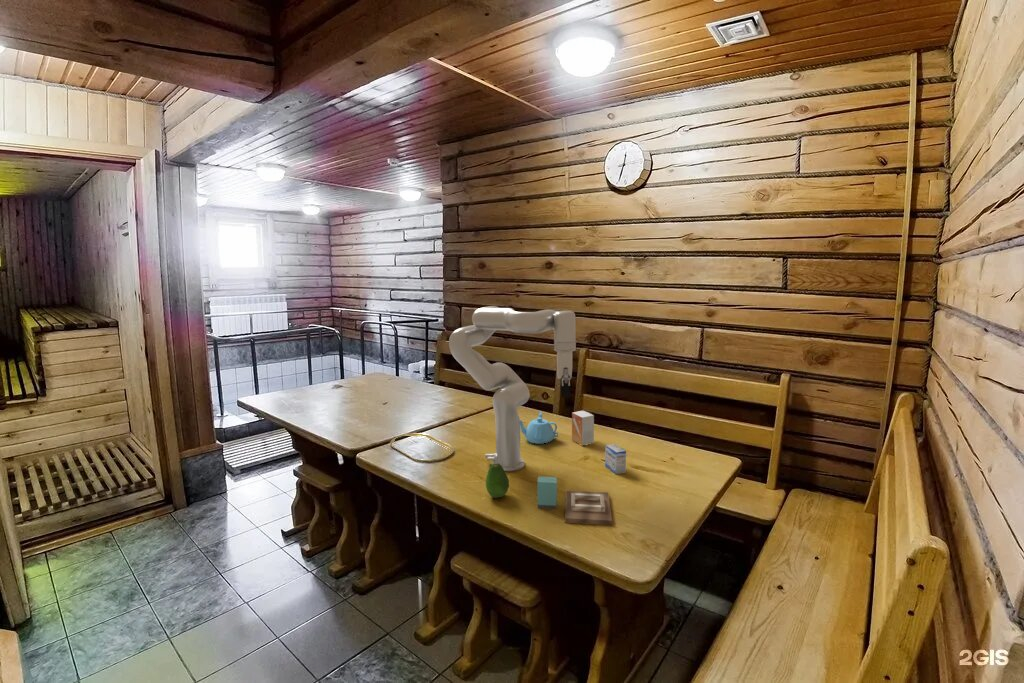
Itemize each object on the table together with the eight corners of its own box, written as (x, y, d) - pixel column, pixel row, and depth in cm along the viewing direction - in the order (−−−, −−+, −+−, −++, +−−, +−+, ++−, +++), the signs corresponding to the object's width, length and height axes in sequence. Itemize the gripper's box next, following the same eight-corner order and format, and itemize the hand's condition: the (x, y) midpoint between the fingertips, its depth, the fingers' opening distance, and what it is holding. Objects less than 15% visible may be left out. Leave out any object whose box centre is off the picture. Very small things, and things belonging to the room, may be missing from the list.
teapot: (563, 440, 214) (563, 418, 212) (537, 449, 204) (537, 426, 203) (540, 432, 225) (540, 411, 223) (515, 439, 216) (515, 417, 214)
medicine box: (604, 466, 186) (604, 445, 185) (614, 464, 188) (614, 443, 187) (615, 474, 179) (616, 452, 178) (626, 472, 181) (626, 450, 179)
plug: (537, 508, 156) (537, 482, 154) (538, 502, 160) (538, 476, 158) (556, 509, 155) (556, 482, 154) (556, 502, 159) (556, 477, 158)
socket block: (565, 522, 147) (565, 513, 146) (566, 494, 164) (566, 486, 164) (611, 525, 145) (612, 515, 144) (608, 496, 163) (608, 487, 162)
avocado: (481, 497, 164) (480, 463, 162) (498, 489, 169) (497, 456, 167) (497, 505, 158) (496, 470, 156) (514, 496, 164) (513, 463, 162)
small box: (571, 440, 214) (571, 412, 212) (583, 438, 216) (583, 410, 214) (581, 446, 207) (582, 417, 204) (594, 443, 209) (594, 415, 207)
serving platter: (419, 433, 227) (419, 430, 227) (462, 454, 201) (462, 451, 201) (382, 443, 215) (382, 440, 215) (423, 467, 189) (423, 464, 189)
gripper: (554, 342, 178) (554, 387, 181) (554, 350, 161) (555, 400, 164) (574, 342, 178) (574, 387, 180) (577, 350, 161) (577, 400, 163)
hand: (565, 393), depth 172 cm, fingers open, 9 cm apart
